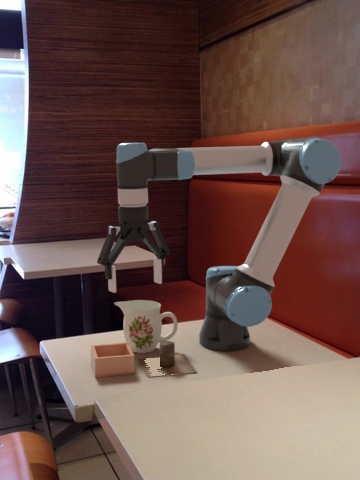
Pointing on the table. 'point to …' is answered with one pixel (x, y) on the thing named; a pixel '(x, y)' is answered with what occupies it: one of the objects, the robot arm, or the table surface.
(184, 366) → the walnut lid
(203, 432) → the table surface
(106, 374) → the terracotta dish
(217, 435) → the table surface
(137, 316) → the pitcher
